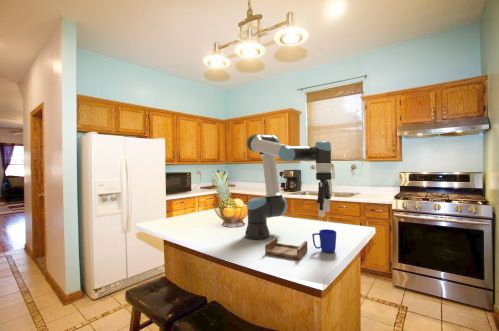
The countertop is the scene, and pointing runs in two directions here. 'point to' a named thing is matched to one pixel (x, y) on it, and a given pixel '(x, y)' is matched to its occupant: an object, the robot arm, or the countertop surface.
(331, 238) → the mug
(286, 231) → the countertop surface
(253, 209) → the robot arm
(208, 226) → the countertop surface
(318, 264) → the countertop surface
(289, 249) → the tray
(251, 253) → the countertop surface
